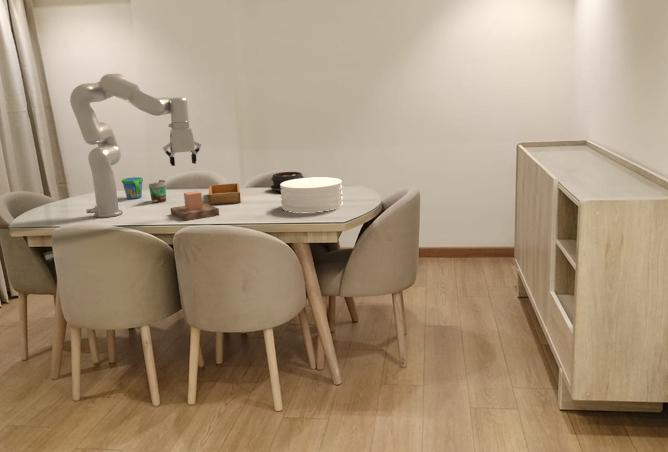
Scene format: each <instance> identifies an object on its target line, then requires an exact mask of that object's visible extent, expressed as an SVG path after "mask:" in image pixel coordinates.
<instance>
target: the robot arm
mask: <svg viewBox="0 0 668 452" xmlns="http://www.w3.org/2000/svg"><path fill="white" fill-rule="evenodd" d="M112 97H116V98H118V99H120V100H122V101H125V102H128V103H130V105H132V106H133V107H135V108H136V109H138V110H140V111H141V112H145V113H147V114H149V115H152V116H156V117H159V116H164V115H170V123H169V124H168V128H171V129H170V132H169V143H167V144H166V145H164V146H163V147H162V150H163V151H164V153H165V154H166V155H167V156H168V157H169V163H170V166H173V167H175V166H176V162H175V157H174V156H175V154H176V153H187V152H190V153H191V156H190V157H191V163H192V164H195V165H196V164H197V154H198V153H199V151H200V150H201V147H202V144H201V143H199V142H197V141H195V138H194V133H193V130H192V128H190V121H189V118H190V117H189V109H188V107H189V106H188V99H187V98H186V97H182V96H181V97H168V96H167V97H163V96H162V97H154V96H151V95H149V94H147V93H144V92H143V91H142V90H140V86H139V85H138V84H136V83H134V82H131V81H129V80H128V79H127V78H126V77H125V76H124V75H123V74H121V73H107V74H104V75H103V76H102V77H101V78H100V80H99V81H98V82H91V83H89V82H87V83H82V84H79V85H77V86H76V87H75V88H74V89H73V90H72V92H71V94H70V97H69V98H70V99H69V103H70V107H71V109H72V111H73V113H74V116H75V118H76V121H77V124H78V125H77V126H78V127H79V130H80V133H81V135H82V138H83V140H84V142H85V143H86V144H87V145H91V146H95V145H97V147H94V148H93V149H91V150H90V152H89V153H88V155H87V156H88V164H89V168H90V170H91V174H92V182H93V188H94V190H93V191H94V197H95V205H94V207H92V208H88V209H87V208H86V210H85V212H86V214H93V215H94V217H96V218H112V217H116V216H120V215H122V214H123V210H121V209H119V201H118V195H117V193H118V191H117V186H116V178H115V173H114V170H113V168H112V166H114V165H116V164H117V163H118V162H120V160H121V156H122V155H121V150H120V147H119V144H118V141H117V139H116V135H115V133H114V130H113V129H112V128H111V126H110V125H109V124H108V123H105V122H104V121H103V122H102V121H101V122H99V120H98V118H97V114H96V113H95V110H94V109H93V107H92V106H91V105H90V104H91V103H96V102H97V103H99V102H103V101H106V100H107V99H110V98H112ZM168 149H170V151H169V150H168Z"/></svg>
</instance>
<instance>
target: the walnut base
mask: <svg viewBox="0 0 668 452" xmlns="http://www.w3.org/2000/svg"><path fill="white" fill-rule="evenodd" d="M202 205H203V208H201V209H195V210H188V209H186V208H185V205H181V206H175V207H173V206H172V207H170V214H171V215H172V216H174V217H176V218H178V219H180V220H183V221H191V220H196V219H197V220H198V219H203V218H204V217H205V218H210V216H211V217H215V216H216V215H217V216H220V208H218V207H216V206H213V205H209V204H208V203H205V202H202Z"/></svg>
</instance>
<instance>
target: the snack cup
mask: <svg viewBox="0 0 668 452" xmlns="http://www.w3.org/2000/svg"><path fill="white" fill-rule="evenodd" d="M143 181H144V178H143V177H139V176H138V177H135V176H133V177H126V178H122V180H121V183H122V185H123V189H124V193H125V196H126V199H129V200H137V199H140V198H142V196H143V195H142V194H143Z"/></svg>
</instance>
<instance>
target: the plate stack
mask: <svg viewBox="0 0 668 452" xmlns="http://www.w3.org/2000/svg"><path fill="white" fill-rule="evenodd" d="M280 187H281V188H282V189H281V191H280V194H281V195H280V199H281V210H282V209H283V210H285V211H284V212H286V211H291V212H318V211H326V210H331V209H335V208H339V207H341V206H342V205H343V206H344V203H343V201H344V197H343V191H342V190H343V180H341V179H340V178H337V177H336V178H335V177H326V176H325V177H324V176H322V177H321V176H319V177H318V176H317V177H315V176H313V177H304V178H300V179H293V180H288V181H285V182H282V183H281V184H280ZM341 208H342V207H341ZM339 209H340V208H339ZM283 210H282V211H283Z"/></svg>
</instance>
